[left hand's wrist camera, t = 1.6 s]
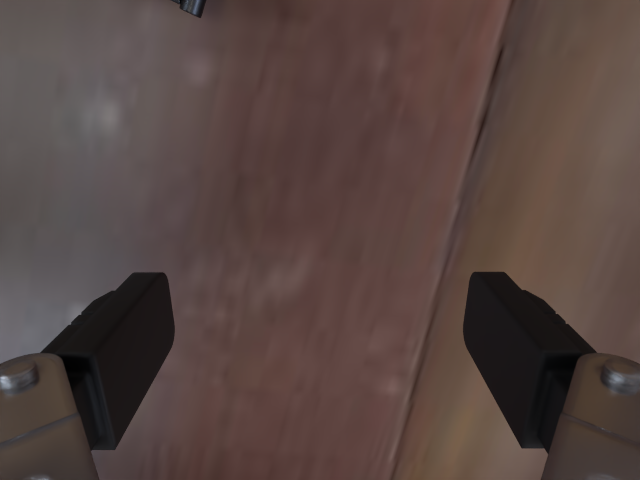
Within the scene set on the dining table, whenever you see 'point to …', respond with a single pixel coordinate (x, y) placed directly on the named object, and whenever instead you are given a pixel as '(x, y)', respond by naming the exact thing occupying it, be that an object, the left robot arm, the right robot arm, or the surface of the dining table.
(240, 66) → the dining table surface
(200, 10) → the drawer
